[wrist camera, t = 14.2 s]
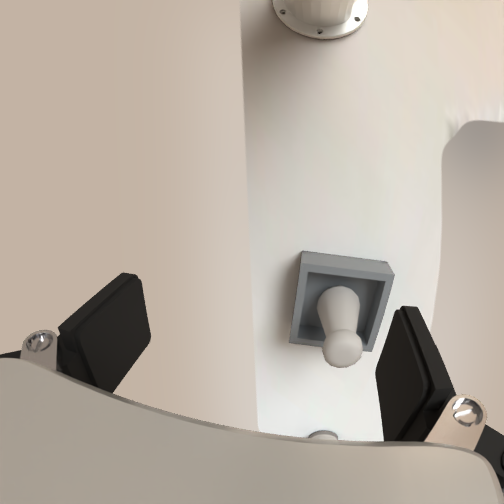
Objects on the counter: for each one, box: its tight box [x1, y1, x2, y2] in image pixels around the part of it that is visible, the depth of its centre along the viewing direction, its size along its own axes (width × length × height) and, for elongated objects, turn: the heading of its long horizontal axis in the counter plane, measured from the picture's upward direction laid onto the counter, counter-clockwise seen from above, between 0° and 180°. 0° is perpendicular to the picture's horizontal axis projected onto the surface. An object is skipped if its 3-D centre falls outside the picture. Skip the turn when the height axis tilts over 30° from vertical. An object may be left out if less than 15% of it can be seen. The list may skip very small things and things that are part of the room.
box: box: [289, 251, 395, 352], centre depth 39 cm, size 12×12×4 cm
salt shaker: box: [317, 285, 363, 368], centre depth 34 cm, size 6×6×13 cm
